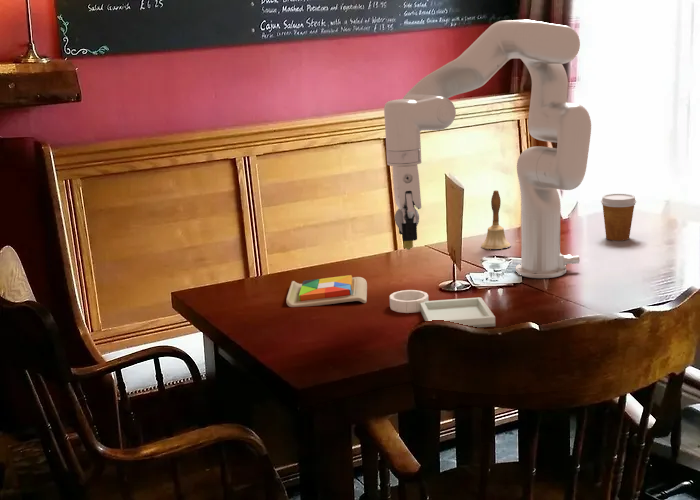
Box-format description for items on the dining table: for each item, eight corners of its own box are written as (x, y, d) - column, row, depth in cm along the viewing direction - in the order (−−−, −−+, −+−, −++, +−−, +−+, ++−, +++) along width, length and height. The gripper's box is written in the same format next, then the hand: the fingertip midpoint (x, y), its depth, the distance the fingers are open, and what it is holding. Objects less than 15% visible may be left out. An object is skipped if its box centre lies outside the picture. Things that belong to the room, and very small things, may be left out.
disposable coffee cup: (639, 241, 248) (640, 199, 245) (605, 243, 248) (606, 200, 245) (629, 233, 257) (630, 192, 254) (596, 235, 257) (597, 194, 254)
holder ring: (425, 299, 207) (424, 288, 206) (430, 311, 199) (430, 300, 198) (388, 302, 206) (388, 291, 206) (392, 313, 198) (392, 302, 197)
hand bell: (489, 241, 256) (488, 187, 252) (515, 244, 251) (515, 189, 247) (475, 248, 250) (474, 192, 246) (502, 251, 245) (502, 194, 241)
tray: (481, 305, 200) (481, 297, 200) (495, 326, 187) (495, 317, 186) (419, 310, 200) (419, 301, 199) (429, 330, 186) (429, 321, 186)
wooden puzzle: (292, 287, 224) (291, 274, 223) (367, 284, 223) (366, 270, 222) (285, 309, 207) (284, 294, 206) (366, 306, 206) (365, 291, 206)
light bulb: (419, 252, 196) (417, 208, 194) (394, 252, 197) (392, 208, 195) (422, 245, 201) (420, 202, 199) (398, 246, 202) (396, 203, 200)
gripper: (426, 161, 186) (430, 245, 191) (415, 149, 202) (419, 227, 207) (391, 164, 185) (395, 248, 190) (382, 152, 202) (387, 229, 207)
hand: (408, 236), depth 199 cm, fingers closed on light bulb, 5 cm apart
